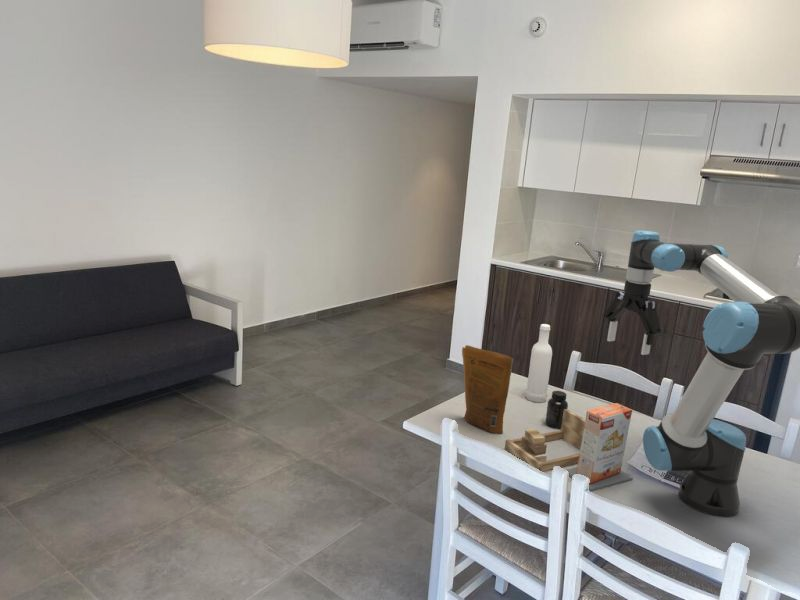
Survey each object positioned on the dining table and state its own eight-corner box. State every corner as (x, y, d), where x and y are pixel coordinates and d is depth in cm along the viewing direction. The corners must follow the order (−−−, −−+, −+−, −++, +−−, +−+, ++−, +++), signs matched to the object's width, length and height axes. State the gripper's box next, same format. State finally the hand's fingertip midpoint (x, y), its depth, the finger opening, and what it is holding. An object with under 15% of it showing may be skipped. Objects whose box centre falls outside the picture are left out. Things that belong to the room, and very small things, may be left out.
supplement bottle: (554, 419, 214) (558, 388, 211) (569, 427, 209) (573, 395, 206) (540, 422, 211) (545, 391, 208) (555, 430, 205) (560, 398, 202)
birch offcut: (545, 464, 182) (546, 455, 182) (534, 465, 181) (535, 457, 180) (530, 451, 189) (531, 443, 189) (519, 453, 188) (521, 444, 187)
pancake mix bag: (498, 439, 196) (508, 358, 189) (453, 419, 208) (461, 343, 202) (510, 433, 200) (519, 355, 194) (465, 414, 213) (473, 339, 207)
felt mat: (632, 479, 176) (632, 478, 176) (590, 491, 168) (590, 489, 168) (604, 462, 185) (604, 460, 185) (563, 472, 178) (563, 470, 177)
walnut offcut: (545, 453, 182) (546, 444, 182) (535, 455, 181) (536, 446, 180) (530, 443, 189) (532, 434, 188) (520, 445, 187) (522, 436, 186)
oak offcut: (544, 445, 181) (545, 437, 181) (533, 446, 180) (534, 438, 180) (534, 436, 187) (535, 429, 186) (524, 437, 186) (525, 429, 185)
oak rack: (597, 458, 187) (602, 429, 185) (537, 472, 176) (542, 442, 174) (562, 436, 201) (566, 409, 199) (504, 448, 190) (508, 419, 187)
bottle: (547, 397, 234) (558, 324, 227) (544, 404, 227) (554, 329, 220) (527, 393, 237) (537, 320, 230) (523, 399, 230) (532, 325, 223)
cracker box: (591, 485, 170) (602, 418, 165) (575, 475, 175) (585, 409, 170) (622, 473, 178) (633, 409, 173) (605, 464, 183) (615, 401, 178)
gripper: (681, 290, 173) (669, 359, 178) (615, 272, 195) (606, 334, 200) (664, 291, 170) (651, 361, 175) (599, 273, 191) (589, 336, 196)
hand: (627, 347), depth 187 cm, fingers open, 13 cm apart
